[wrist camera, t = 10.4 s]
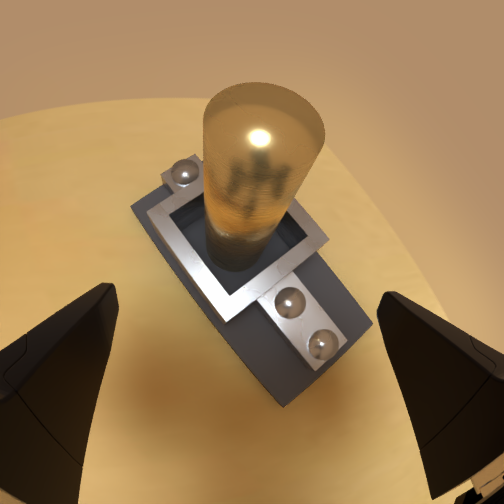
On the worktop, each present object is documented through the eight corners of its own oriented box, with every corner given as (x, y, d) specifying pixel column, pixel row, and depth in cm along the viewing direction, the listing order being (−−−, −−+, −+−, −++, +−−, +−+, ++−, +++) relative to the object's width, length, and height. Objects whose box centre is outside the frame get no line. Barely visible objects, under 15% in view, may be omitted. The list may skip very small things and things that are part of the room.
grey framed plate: (361, 318, 20) (386, 312, 17) (280, 392, 18) (294, 402, 15) (221, 150, 23) (223, 122, 19) (135, 202, 21) (124, 178, 17)
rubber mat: (369, 324, 21) (373, 323, 20) (281, 406, 18) (283, 407, 18) (226, 151, 24) (226, 147, 23) (132, 209, 21) (130, 206, 20)
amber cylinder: (270, 262, 21) (345, 159, 9) (215, 279, 20) (224, 185, 8) (251, 211, 22) (295, 78, 10) (198, 226, 21) (190, 91, 9)
